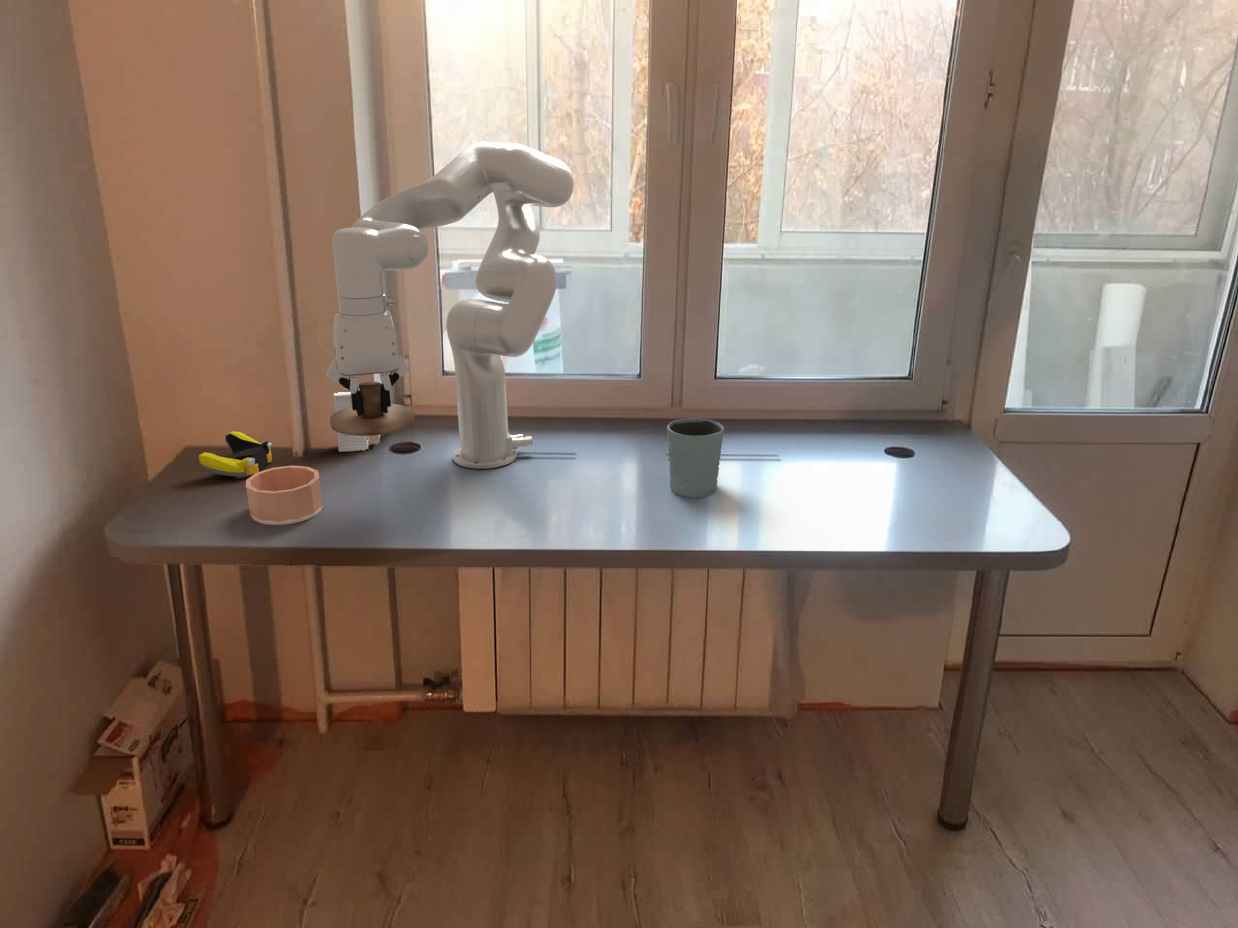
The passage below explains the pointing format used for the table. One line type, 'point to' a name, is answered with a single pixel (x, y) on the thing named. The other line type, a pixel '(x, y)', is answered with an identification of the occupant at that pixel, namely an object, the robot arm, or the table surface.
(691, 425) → the grey green cup
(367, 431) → the lid
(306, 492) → the bowl
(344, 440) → the skincare box
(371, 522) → the table surface
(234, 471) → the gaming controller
